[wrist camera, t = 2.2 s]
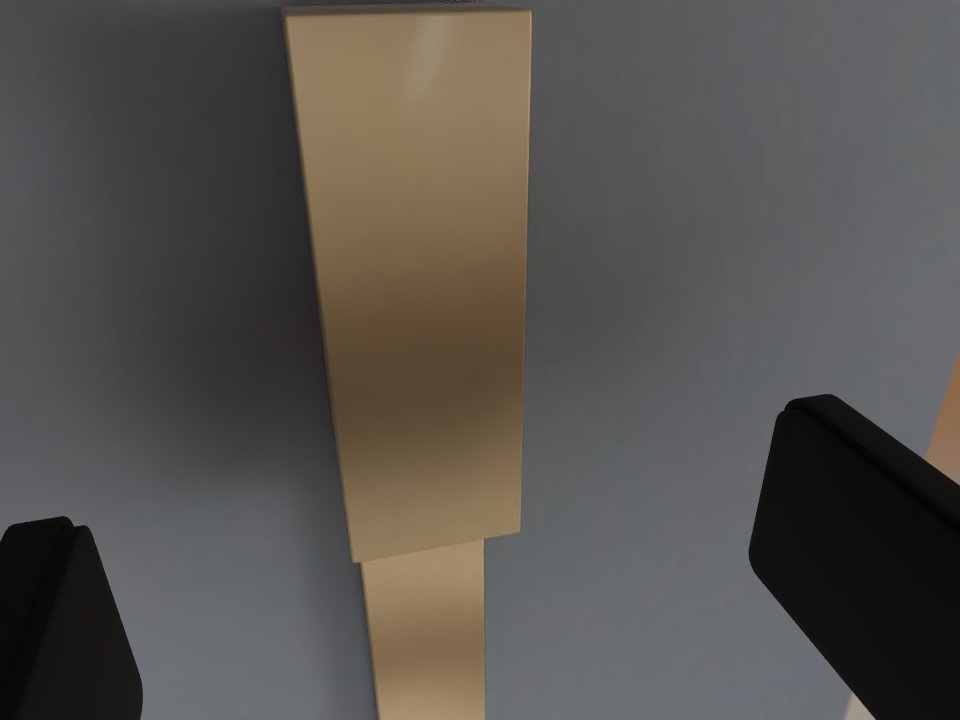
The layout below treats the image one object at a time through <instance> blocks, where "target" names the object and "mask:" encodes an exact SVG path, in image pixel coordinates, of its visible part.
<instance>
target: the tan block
mask: <svg viewBox="0 0 960 720" xmlns="http://www.w3.org/2000/svg"><path fill="white" fill-rule="evenodd" d="M281 17H282V25H283V33H284V41H285V49H286V57H287V65H288V72H289V80H290V88H291V96H292V104H293V112H294V120H295V128H296V136H297V143H298V151H299V159H300V167H301V175H302V183H303V191H304V199H305V207H306V214H307V222H308V230H309V238H310V246H311V254H312V262H313V270H314V278H315V286H316V293H317V301H318V309H319V317H320V325H321V333H322V341H323V349H324V357H325V364H326V372H327V380H328V388H329V396H330V404H331V412H332V420H333V428H334V435H335V443H336V451H337V459H338V467H339V474H340V481H341V488H342V495H343V502H344V509H345V516H346V523H347V530H348V537H349V544H350V551H351V558H352V562H353V563H360V572H361V580H362V589H363V597H364V605H365V614H366V622H367V631H368V639H369V647H370V656H371V664H372V673H373V681H374V690H375V698H376V706H377V715H378V720H485V630H484V539H487V538H493V537H498V536H503V535H509V534H514V533H519V532H520V521H521V478H522V435H523V391H524V348H525V305H526V262H527V218H528V175H529V132H530V89H531V46H532V12H531V11H530V10H525V9H518V8H511V7H505V6H498V5H491V4H484V3H477V2H458V3H409V4H359V5H310V6H282V7H281Z"/></svg>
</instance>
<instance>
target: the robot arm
mask: <svg viewBox="0 0 960 720" xmlns="http://www.w3.org/2000/svg"><path fill="white" fill-rule="evenodd" d="M749 560H750V564H751V566H752V569H753V571H754V572H755V574H756V575H757V577H758V578H759V579H760V580H761V581H762V583H763V584H764V585H765V586H766V587H767V589H768V590H769V591H770V592H771V594H772V595H773V596H774V597H775V598H776V600H777V601H778V602H779V603H780V604H781V606H782V607H783V608H784V609H785V610H786V612H787V613H788V614H789V615H790V617H791V618H792V619H793V620H794V621H795V623H796V624H797V625H798V626H799V627H800V629H801V630H802V631H803V632H804V633H805V635H806V636H807V637H808V638H809V639H810V641H811V642H812V643H813V644H814V646H815V647H816V648H817V649H818V650H819V652H820V653H821V654H822V655H823V656H824V658H825V659H826V660H827V661H828V662H829V664H830V665H831V666H832V667H833V668H834V670H835V671H836V672H837V673H838V675H839V676H840V677H841V678H842V679H843V681H844V682H845V683H846V684H847V685H848V687H849V688H850V689H851V690H852V691H853V693H854V694H855V695H856V696H857V697H858V699H859V700H860V701H861V702H862V704H863V705H864V706H865V707H866V708H867V710H868V711H869V712H870V713H871V714H872V716H873V717H874V718H875V719H876V720H960V485H958V484H957V483H956V482H954V481H953V480H951V479H950V478H948V477H947V476H946V475H944V474H943V473H942V472H940V471H939V470H938V469H936V468H935V467H933V466H932V465H931V464H929V463H928V462H927V461H925V460H924V459H922V458H921V457H920V456H918V455H917V454H915V453H914V452H913V451H911V450H910V449H909V448H907V447H906V446H904V445H903V444H902V443H900V442H899V441H897V440H896V439H895V438H893V437H892V436H891V435H889V434H888V433H886V432H885V431H884V430H882V429H881V428H880V427H878V426H877V425H875V424H874V423H873V422H871V421H870V420H868V419H867V418H866V417H864V416H863V415H862V414H860V413H859V412H857V411H856V410H855V409H853V408H852V407H850V406H849V405H848V404H846V403H845V402H844V401H842V400H841V399H839V398H838V397H836V396H834V395H832V394H823V395H817V396H811V397H804V398H798V399H794V400H791V401H789V403H788V404H787V405H786V406H785V409H784V411H782V412H780V414H779V415H778V416H777V419H776V422H775V427H774V432H773V437H772V441H771V446H770V451H769V456H768V460H767V465H766V470H765V475H764V479H763V484H762V489H761V493H760V498H759V503H758V508H757V512H756V517H755V522H754V527H753V531H752V536H751V541H750V546H749ZM142 704H143V690H142V682H141V678H140V674H139V671H138V668H137V665H136V662H135V659H134V656H133V653H132V650H131V647H130V645H129V642H128V639H127V636H126V633H125V630H124V627H123V624H122V621H121V618H120V615H119V612H118V609H117V606H116V603H115V600H114V597H113V594H112V592H111V589H110V586H109V583H108V580H107V577H106V574H105V571H104V568H103V565H102V562H101V559H100V556H99V553H98V550H97V547H96V544H95V541H94V538H93V536H92V533H91V531H90V529H89V528H88V527H87V526H85V525H82V526H76V527H74V526H73V524H72V522H71V520H70V519H69V518H68V517H65V516H61V517H55V518H49V519H43V520H36V521H30V522H24V523H18V524H13V525H11V526H9V527H8V529H7V530H6V532H5V533H4V535H3V537H2V539H1V542H0V720H140V718H141V712H142Z"/></svg>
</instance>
